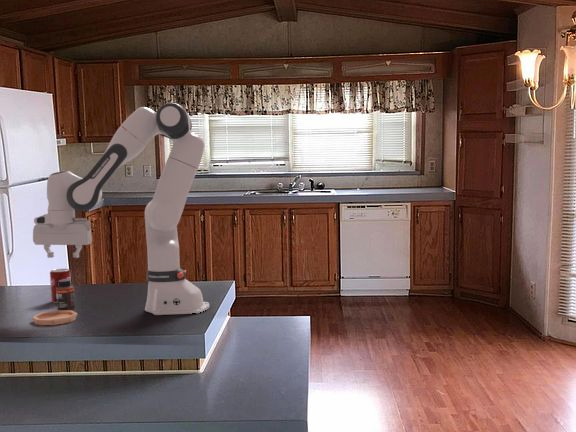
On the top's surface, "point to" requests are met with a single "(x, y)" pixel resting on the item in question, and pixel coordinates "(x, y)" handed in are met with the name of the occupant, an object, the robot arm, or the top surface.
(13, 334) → the top surface
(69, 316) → the dish
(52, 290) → the soda can
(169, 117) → the robot arm
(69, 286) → the supplement bottle
